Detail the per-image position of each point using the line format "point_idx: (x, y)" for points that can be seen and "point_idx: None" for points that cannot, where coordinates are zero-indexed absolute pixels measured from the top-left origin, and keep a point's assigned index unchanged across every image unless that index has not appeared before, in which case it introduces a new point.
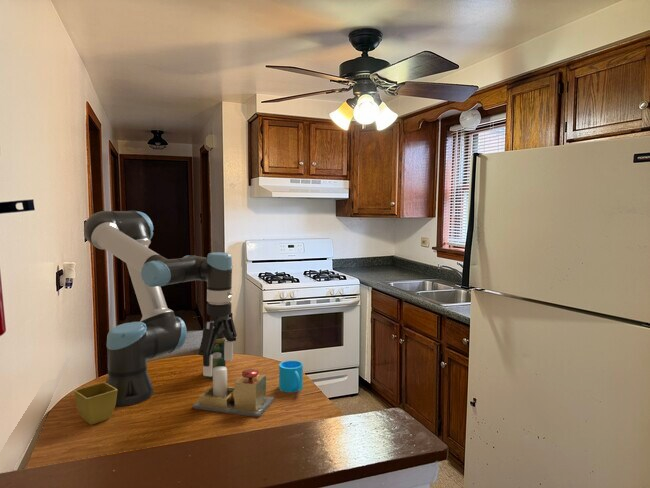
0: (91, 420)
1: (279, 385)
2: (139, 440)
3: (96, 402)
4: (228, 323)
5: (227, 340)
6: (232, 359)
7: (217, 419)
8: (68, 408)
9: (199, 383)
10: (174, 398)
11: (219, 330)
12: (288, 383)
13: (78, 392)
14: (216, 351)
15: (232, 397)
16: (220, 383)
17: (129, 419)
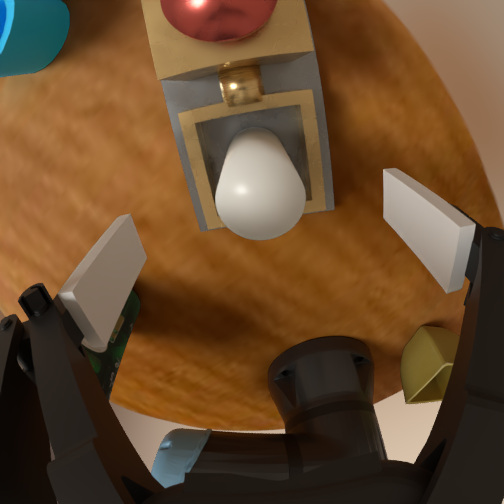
0: (451, 331)
1: (50, 54)
2: (488, 212)
3: None
4: (26, 473)
5: (82, 337)
6: (118, 219)
7: (368, 84)
8: (387, 390)
9: (172, 301)
10: (292, 294)
11: (492, 463)
12: (50, 7)
13: (440, 395)
14: (86, 350)
15: (263, 90)
16: (286, 153)
17: (419, 296)
